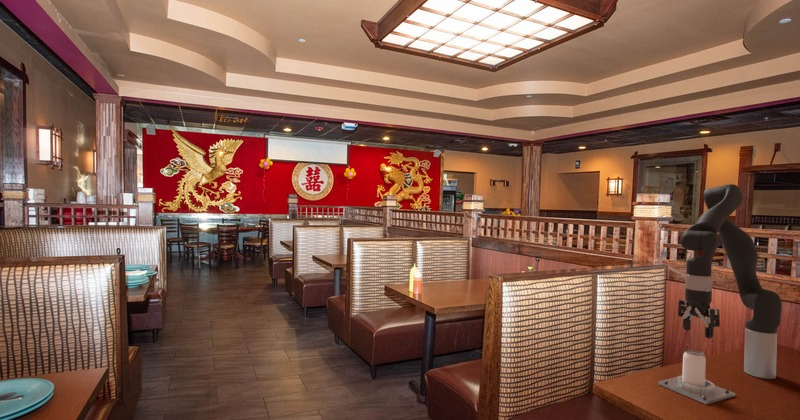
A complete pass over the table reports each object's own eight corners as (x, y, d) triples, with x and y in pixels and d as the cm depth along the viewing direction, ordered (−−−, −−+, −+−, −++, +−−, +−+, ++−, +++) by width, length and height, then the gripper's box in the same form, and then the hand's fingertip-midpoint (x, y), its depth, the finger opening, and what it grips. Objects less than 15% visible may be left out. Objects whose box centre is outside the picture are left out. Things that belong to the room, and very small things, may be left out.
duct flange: (685, 377, 152) (686, 369, 152) (735, 396, 137) (735, 387, 137) (658, 384, 145) (658, 376, 145) (706, 404, 131) (706, 395, 131)
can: (703, 385, 142) (705, 351, 142) (705, 392, 137) (707, 357, 137) (681, 380, 146) (682, 348, 146) (682, 387, 140) (683, 353, 140)
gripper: (672, 284, 147) (671, 328, 147) (707, 292, 133) (706, 341, 133) (690, 283, 148) (689, 327, 148) (727, 292, 134) (726, 340, 134)
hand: (697, 333), depth 141 cm, fingers open, 8 cm apart
